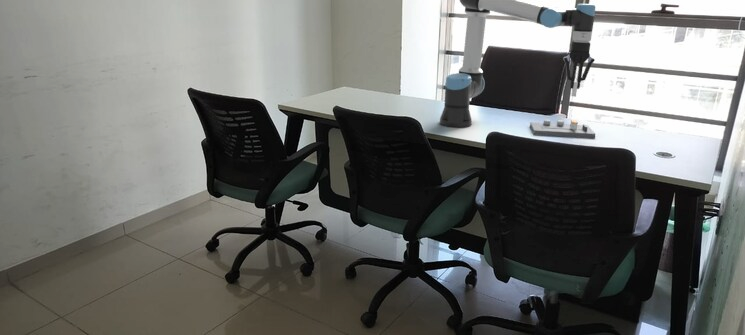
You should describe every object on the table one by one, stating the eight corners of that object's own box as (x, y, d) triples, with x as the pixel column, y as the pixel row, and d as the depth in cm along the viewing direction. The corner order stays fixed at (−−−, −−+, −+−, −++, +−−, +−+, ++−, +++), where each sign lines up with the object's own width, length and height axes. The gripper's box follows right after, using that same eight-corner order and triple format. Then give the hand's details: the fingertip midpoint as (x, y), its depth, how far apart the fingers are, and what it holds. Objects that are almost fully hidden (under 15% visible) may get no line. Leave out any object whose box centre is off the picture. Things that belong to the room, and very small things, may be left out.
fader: (571, 129, 238) (572, 122, 237) (570, 127, 242) (571, 120, 241) (576, 129, 237) (577, 122, 236) (575, 127, 241) (576, 120, 240)
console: (533, 134, 238) (534, 125, 236) (529, 126, 252) (530, 118, 251) (594, 138, 233) (596, 129, 232) (587, 129, 248) (588, 121, 247)
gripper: (567, 41, 225) (559, 96, 233) (599, 42, 223) (590, 98, 231) (564, 40, 232) (556, 93, 240) (595, 41, 230) (587, 95, 238)
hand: (573, 95), depth 235 cm, fingers closed
